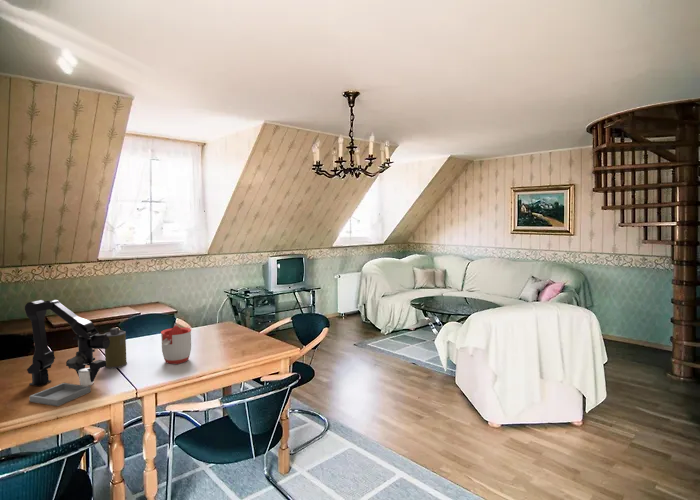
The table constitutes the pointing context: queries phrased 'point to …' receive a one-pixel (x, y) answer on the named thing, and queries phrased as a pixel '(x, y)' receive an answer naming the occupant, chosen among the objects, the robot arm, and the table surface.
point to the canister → (116, 349)
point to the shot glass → (85, 377)
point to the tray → (60, 394)
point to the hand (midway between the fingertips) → (87, 380)
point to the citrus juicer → (176, 344)
